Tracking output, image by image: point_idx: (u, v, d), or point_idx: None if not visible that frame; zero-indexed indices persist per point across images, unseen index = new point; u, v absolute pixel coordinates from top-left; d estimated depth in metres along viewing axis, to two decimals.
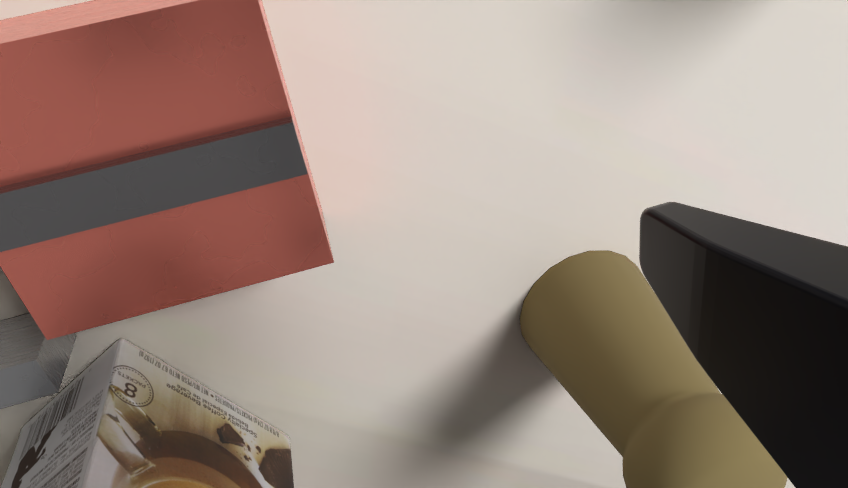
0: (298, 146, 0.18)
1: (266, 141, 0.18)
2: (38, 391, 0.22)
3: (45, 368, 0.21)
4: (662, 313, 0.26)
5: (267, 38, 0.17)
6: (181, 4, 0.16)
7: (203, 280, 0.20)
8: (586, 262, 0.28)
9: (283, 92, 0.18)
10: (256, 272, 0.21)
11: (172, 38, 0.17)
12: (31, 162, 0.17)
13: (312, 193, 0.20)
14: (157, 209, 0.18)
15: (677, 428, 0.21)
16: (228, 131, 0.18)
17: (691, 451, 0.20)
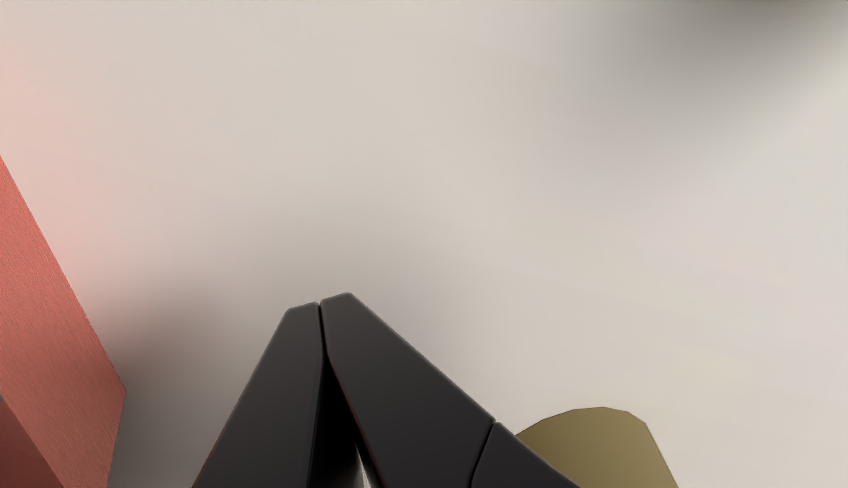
0: None
1: None
2: None
3: None
4: None
5: None
6: None
7: None
8: (569, 431, 0.18)
9: None
10: None
11: None
12: None
13: (27, 439, 0.10)
14: None
15: None
16: None
17: None
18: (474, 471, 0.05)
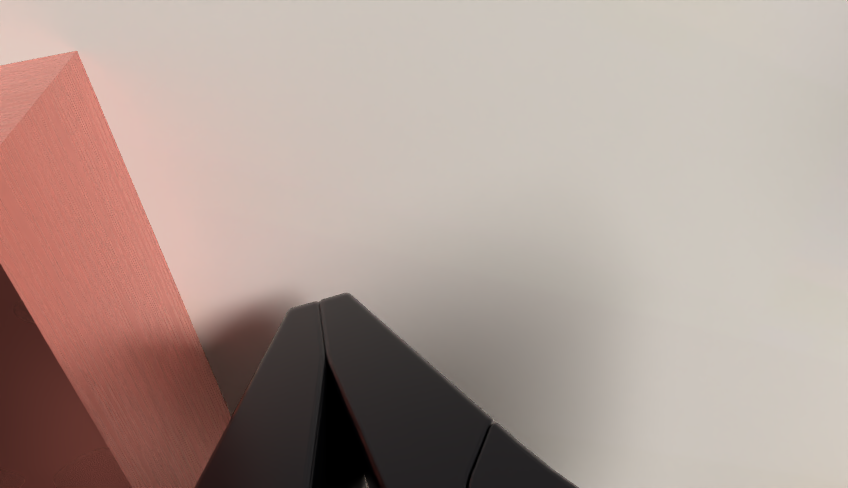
0: None
1: None
2: None
3: None
4: None
5: (42, 344, 0.05)
6: None
7: None
8: None
9: (119, 473, 0.06)
10: None
11: None
12: None
13: None
14: None
15: None
16: None
17: None
18: (472, 472, 0.05)
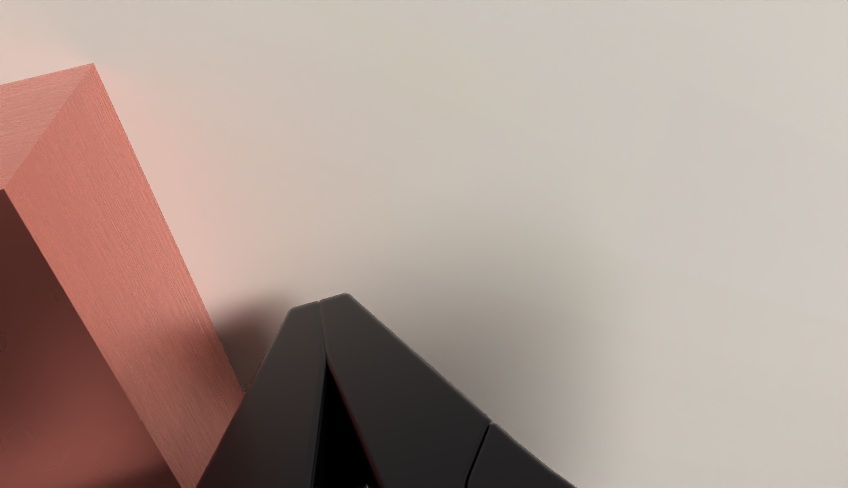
0: None
1: None
2: None
3: None
4: None
5: (79, 325, 0.05)
6: None
7: None
8: None
9: (152, 446, 0.06)
10: None
11: None
12: None
13: None
14: None
15: None
16: None
17: None
18: (470, 473, 0.05)
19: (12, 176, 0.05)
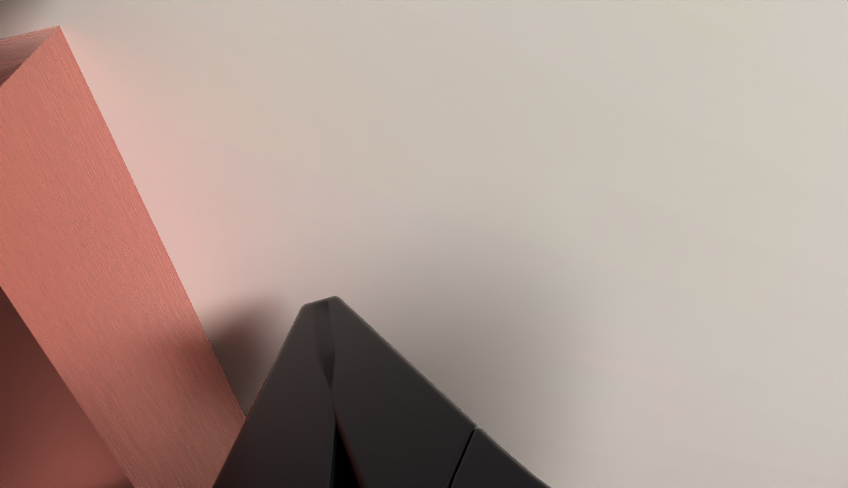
0: None
1: None
2: None
3: None
4: None
5: (22, 328, 0.05)
6: None
7: None
8: None
9: (114, 465, 0.05)
10: None
11: None
12: None
13: None
14: None
15: None
16: None
17: None
18: (453, 478, 0.05)
19: None
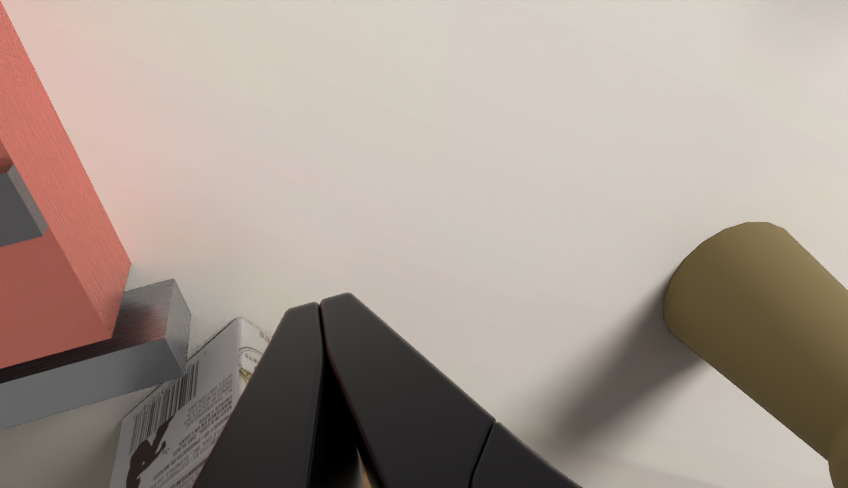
0: (22, 202, 0.14)
1: None
2: (163, 375, 0.19)
3: (172, 348, 0.18)
4: (846, 290, 0.23)
5: None
6: None
7: None
8: (747, 234, 0.25)
9: None
10: (7, 352, 0.16)
11: None
12: None
13: (64, 257, 0.15)
14: None
15: None
16: None
17: None
18: (474, 472, 0.05)
19: None
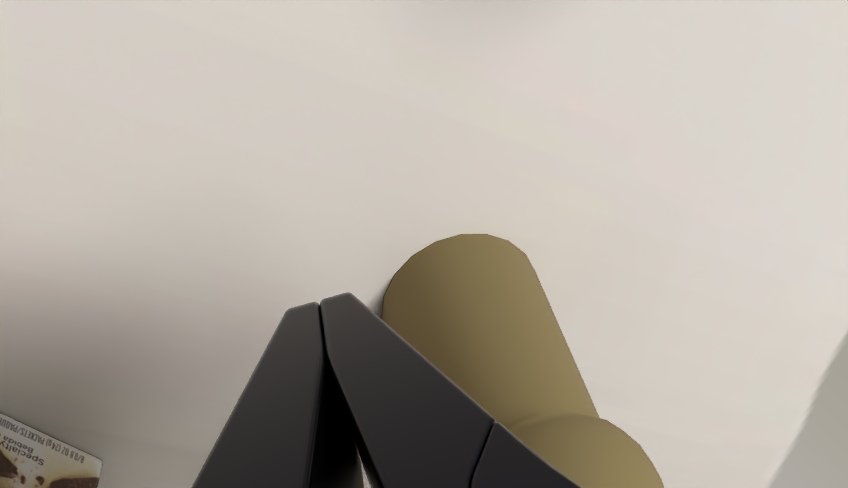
0: None
1: None
2: None
3: None
4: (538, 310, 0.21)
5: None
6: None
7: None
8: (454, 248, 0.22)
9: None
10: None
11: None
12: None
13: None
14: None
15: None
16: None
17: None
18: (474, 471, 0.05)
19: None
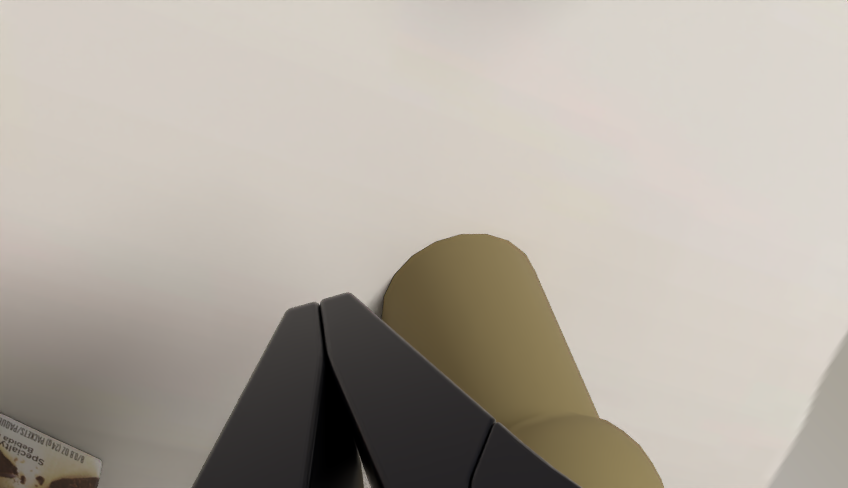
0: None
1: None
2: None
3: None
4: (538, 311, 0.21)
5: None
6: None
7: None
8: (454, 248, 0.22)
9: None
10: None
11: None
12: None
13: None
14: None
15: None
16: None
17: None
18: (474, 471, 0.05)
19: None
